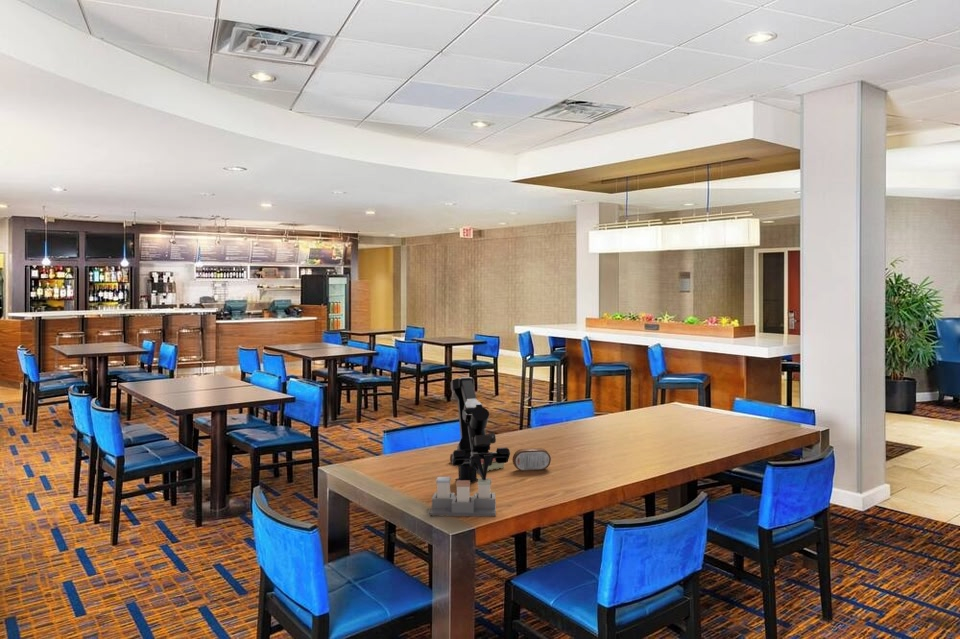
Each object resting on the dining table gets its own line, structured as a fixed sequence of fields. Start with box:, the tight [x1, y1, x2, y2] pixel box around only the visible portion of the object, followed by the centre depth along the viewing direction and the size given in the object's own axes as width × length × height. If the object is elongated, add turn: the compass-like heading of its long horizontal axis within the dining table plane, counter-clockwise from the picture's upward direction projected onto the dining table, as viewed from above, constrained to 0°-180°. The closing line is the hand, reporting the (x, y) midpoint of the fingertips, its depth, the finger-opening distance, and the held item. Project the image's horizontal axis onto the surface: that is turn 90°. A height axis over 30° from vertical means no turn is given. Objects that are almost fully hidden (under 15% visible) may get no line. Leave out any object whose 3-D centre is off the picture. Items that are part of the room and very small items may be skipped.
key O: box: [477, 477, 492, 498], centre depth 211 cm, size 4×4×7 cm
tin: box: [512, 447, 552, 472], centre depth 257 cm, size 15×3×8 cm, turn 100°
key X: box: [455, 480, 471, 502], centre depth 207 cm, size 4×4×7 cm
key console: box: [429, 492, 497, 517], centre depth 209 cm, size 11×20×4 cm, turn 88°
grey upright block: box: [435, 476, 452, 498], centre depth 211 cm, size 4×4×7 cm
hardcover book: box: [449, 452, 505, 472], centre depth 265 cm, size 12×21×4 cm, turn 38°
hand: (484, 479), depth 211 cm, fingers closed, pressing on key O
